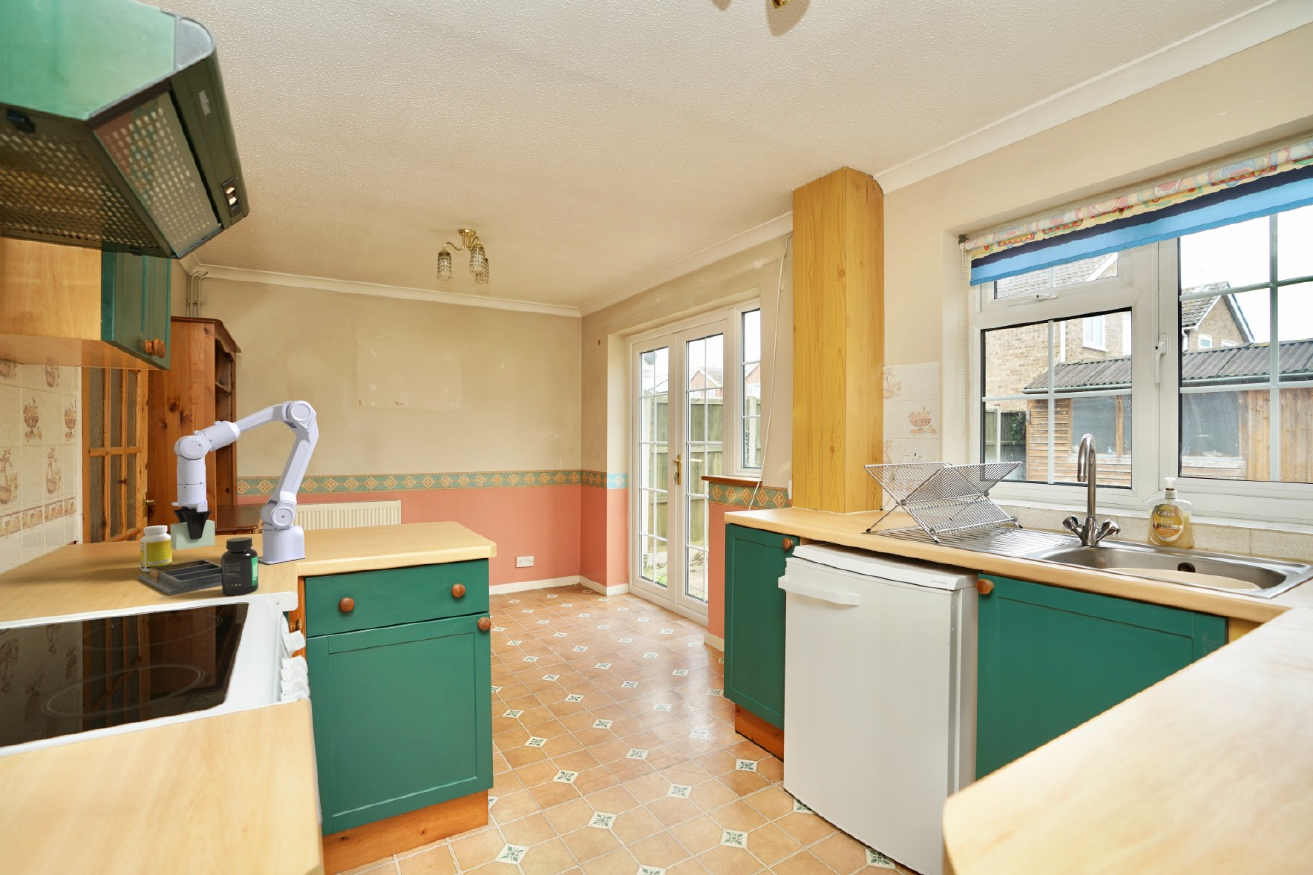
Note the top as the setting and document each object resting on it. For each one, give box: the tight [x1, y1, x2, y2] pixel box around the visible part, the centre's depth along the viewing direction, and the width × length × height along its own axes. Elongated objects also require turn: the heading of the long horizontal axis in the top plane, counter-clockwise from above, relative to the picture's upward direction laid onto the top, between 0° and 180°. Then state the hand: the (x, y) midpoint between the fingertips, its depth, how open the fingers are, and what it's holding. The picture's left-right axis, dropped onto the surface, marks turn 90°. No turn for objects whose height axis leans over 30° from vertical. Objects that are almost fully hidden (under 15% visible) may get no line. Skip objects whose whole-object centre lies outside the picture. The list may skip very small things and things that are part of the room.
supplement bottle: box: [220, 536, 259, 597], centre depth 137 cm, size 7×7×12 cm
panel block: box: [170, 519, 216, 551], centre depth 152 cm, size 8×4×6 cm, turn 144°
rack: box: [138, 559, 222, 596], centre depth 147 cm, size 15×22×2 cm
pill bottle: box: [139, 525, 173, 573], centre depth 156 cm, size 6×6×11 cm
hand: (192, 537), depth 152 cm, fingers closed on panel block, 4 cm apart
